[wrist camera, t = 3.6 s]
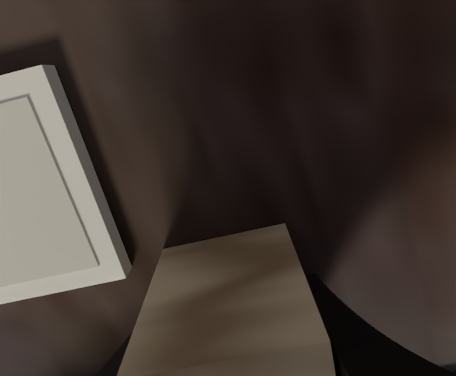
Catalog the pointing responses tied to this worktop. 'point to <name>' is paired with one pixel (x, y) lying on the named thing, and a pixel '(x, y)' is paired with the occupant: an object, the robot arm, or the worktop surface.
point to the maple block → (230, 312)
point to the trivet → (50, 195)
